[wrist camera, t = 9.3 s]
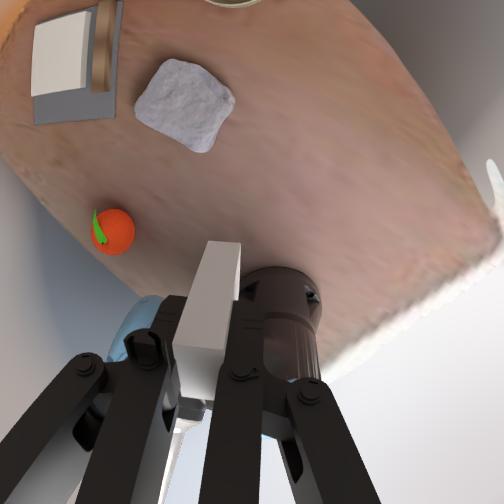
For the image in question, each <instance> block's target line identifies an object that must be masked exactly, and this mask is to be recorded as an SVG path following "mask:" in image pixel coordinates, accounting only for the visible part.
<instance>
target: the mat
mask: <svg viewBox="0 0 504 504" xmlns="http://www.w3.org/2000/svg"><path fill="white" fill-rule="evenodd" d="M123 2H124V1H118V3H117V11H116V19H115V28H114V38H113V49H112V63H111V84H110V91H109V92H100V93H91V90H92V65H93V50H94V38H95V28H96V19H97V12H98V6H94V7H90V8H86V9H82V10H78V11H74V12H71V13H67V14H64V15H60V16H57V17H54V18H51V19H48V20H45V21H42V22H39V23H38V25H40V24H43V23H46V22H49V21H52V20H55V19H58V18H62V17H65V16H68V15H72V14H76V13H80V12H84V11H88V12H92V13H91V21H90V30H89V40H88V53H87V69H86V87H85V88H78V89H71V90H65V91H59V92H53V93H48V94H42V95H37V96H34V125H41V124H49V123H58V122H68V121H78V120H91V119H107V118H116V80H117V61H118V48H119V36H120V26H121V18H122V10H123Z"/></svg>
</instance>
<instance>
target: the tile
mask: <svg viewBox="0 0 504 504" xmlns="http://www.w3.org/2000/svg"><path fill="white" fill-rule="evenodd" d="M91 13H92V12H88V11H84V12H80V13H76V14H72V15H68V16H65V17H62V18H58V19H55V20H52V21H49V22H46V23H43V24H40V25H37V26H35V33H34V43H33V56H32V75H31V97H32V96H37V95H42V94H48V93H53V92H59V91H65V90H71V89H78V88H85V87H86V69H87V53H88V40H89V30H90V21H91Z"/></svg>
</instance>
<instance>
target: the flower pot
mask: <svg viewBox="0 0 504 504" xmlns="http://www.w3.org/2000/svg"><path fill="white" fill-rule="evenodd" d="M205 1H207V2H209V3H211V4H214V5H217V6H220V7H226V8H242V7H247V6H250V5H253V4H255V3H257V2H259V1H261V0H205Z"/></svg>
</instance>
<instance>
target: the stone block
mask: <svg viewBox="0 0 504 504" xmlns="http://www.w3.org/2000/svg"><path fill="white" fill-rule="evenodd" d="M234 105H235V97H234V96H233V94H232V92H231V91H230V90H229V88H227V87H226V86H225V85H223V84H222V83H221V82H219V81H218V80H217V79H216V78H215V77H214V76H213V75H211V74H210V73H209V72H208V71H207V70H205V69H204V68H203V67H201V66H200V65H198V64H193V63H188V62H186V61H179V60H177V59H174V58H171V59H169V60H167V61H165V62H164V63H163V64H162V65H161V66H160V68H159V69H158V71H157V72H156V74H155V75H154V76H153V78H152V79H151V81H150V83H149V84H148V86H147V88H146V90H145V91H144V92H143V93H142V95H141V96H140V97H139V98H138V100H137V101H136V103H135V106H134V113H135V116H136V119H138V120H139V121H141V122H142V123H144V124H145V125H147V126H149V127H151V128H153V129H155V130H157V131H159V132H161V133H163V134H165V135H168V136H170V137H172V138H174V139H176V140H177V141H179V142H180V143H182V144H184V145H185V146H186V147H187V148H188V149H190V150H192V151H194V152H197V153H203V152H209V150H210V149H211V148H212V147H213V146H214V143H215V141H216V137H217V133H218V131H219V129H220V126H221V125H222V123H223V121H224V119H226V117H228V115H229V114H230V113H231V112H232V111H233V109H234Z"/></svg>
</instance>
